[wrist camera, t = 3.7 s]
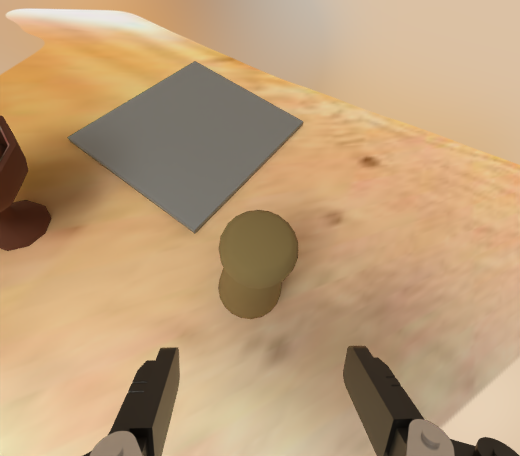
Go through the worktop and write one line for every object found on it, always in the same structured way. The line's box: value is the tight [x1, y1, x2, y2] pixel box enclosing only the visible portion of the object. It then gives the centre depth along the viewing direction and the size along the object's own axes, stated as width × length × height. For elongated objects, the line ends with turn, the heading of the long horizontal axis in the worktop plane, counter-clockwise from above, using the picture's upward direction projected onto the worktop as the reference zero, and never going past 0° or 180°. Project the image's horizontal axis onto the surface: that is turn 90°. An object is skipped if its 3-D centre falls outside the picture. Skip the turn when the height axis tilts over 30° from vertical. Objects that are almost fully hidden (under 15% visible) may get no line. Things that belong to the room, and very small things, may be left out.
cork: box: [219, 210, 298, 319], centre depth 21 cm, size 6×6×11 cm
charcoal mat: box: [67, 61, 303, 233], centre depth 34 cm, size 22×20×1 cm
